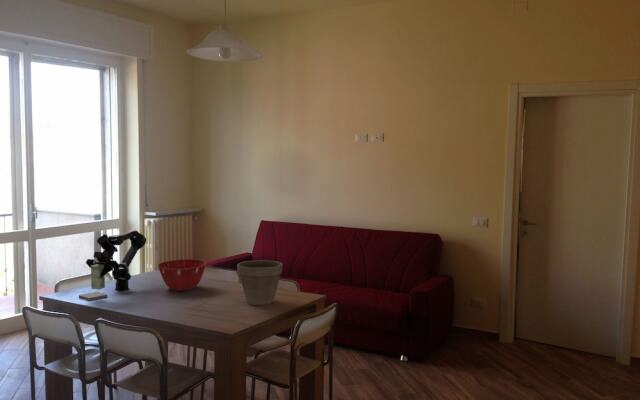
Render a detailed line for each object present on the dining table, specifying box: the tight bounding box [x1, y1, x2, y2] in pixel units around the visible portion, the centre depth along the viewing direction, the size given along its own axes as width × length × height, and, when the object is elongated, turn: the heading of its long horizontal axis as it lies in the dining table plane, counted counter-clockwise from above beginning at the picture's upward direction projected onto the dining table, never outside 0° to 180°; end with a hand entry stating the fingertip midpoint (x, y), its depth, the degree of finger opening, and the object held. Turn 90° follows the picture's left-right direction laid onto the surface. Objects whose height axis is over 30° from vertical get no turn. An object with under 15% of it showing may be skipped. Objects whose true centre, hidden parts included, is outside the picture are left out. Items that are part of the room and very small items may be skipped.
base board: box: [78, 291, 108, 302], centre depth 313 cm, size 11×11×2 cm
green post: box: [90, 264, 106, 290], centre depth 309 cm, size 5×5×13 cm
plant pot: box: [236, 259, 284, 306], centre depth 304 cm, size 25×25×22 cm
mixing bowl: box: [157, 258, 207, 292], centre depth 335 cm, size 28×28×15 cm
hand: (96, 276), depth 308 cm, fingers closed on green post, 5 cm apart
